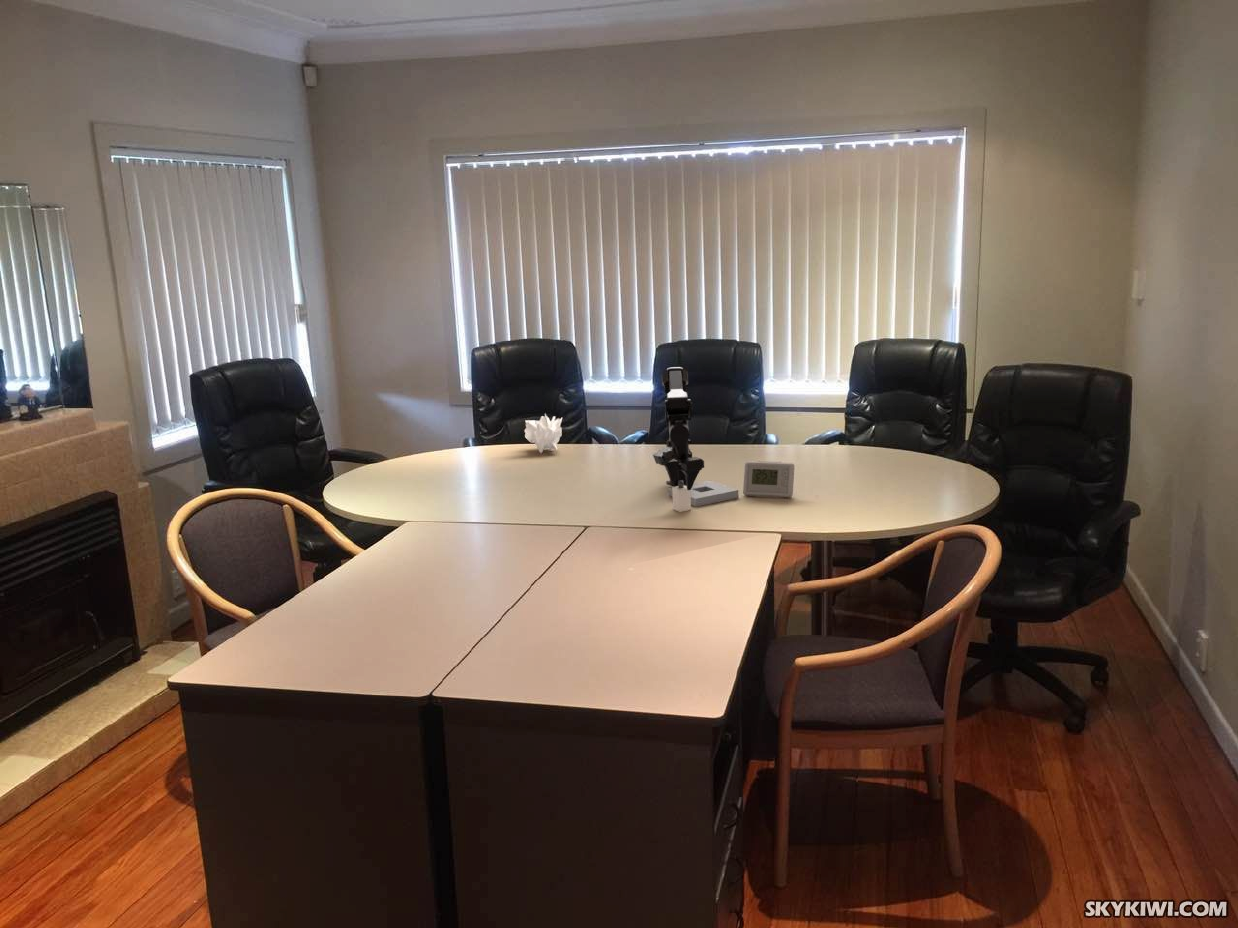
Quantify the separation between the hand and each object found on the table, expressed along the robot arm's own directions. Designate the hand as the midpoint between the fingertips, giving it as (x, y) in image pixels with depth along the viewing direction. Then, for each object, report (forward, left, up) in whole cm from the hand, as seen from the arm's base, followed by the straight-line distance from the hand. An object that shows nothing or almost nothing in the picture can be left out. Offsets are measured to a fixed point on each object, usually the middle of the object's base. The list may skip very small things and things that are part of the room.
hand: (681, 486), depth 314 cm
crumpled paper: (-107, +1, -7) cm, 107 cm away
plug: (0, 0, -7) cm, 7 cm away
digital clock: (+4, +30, -7) cm, 31 cm away
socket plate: (-8, +13, -7) cm, 17 cm away
